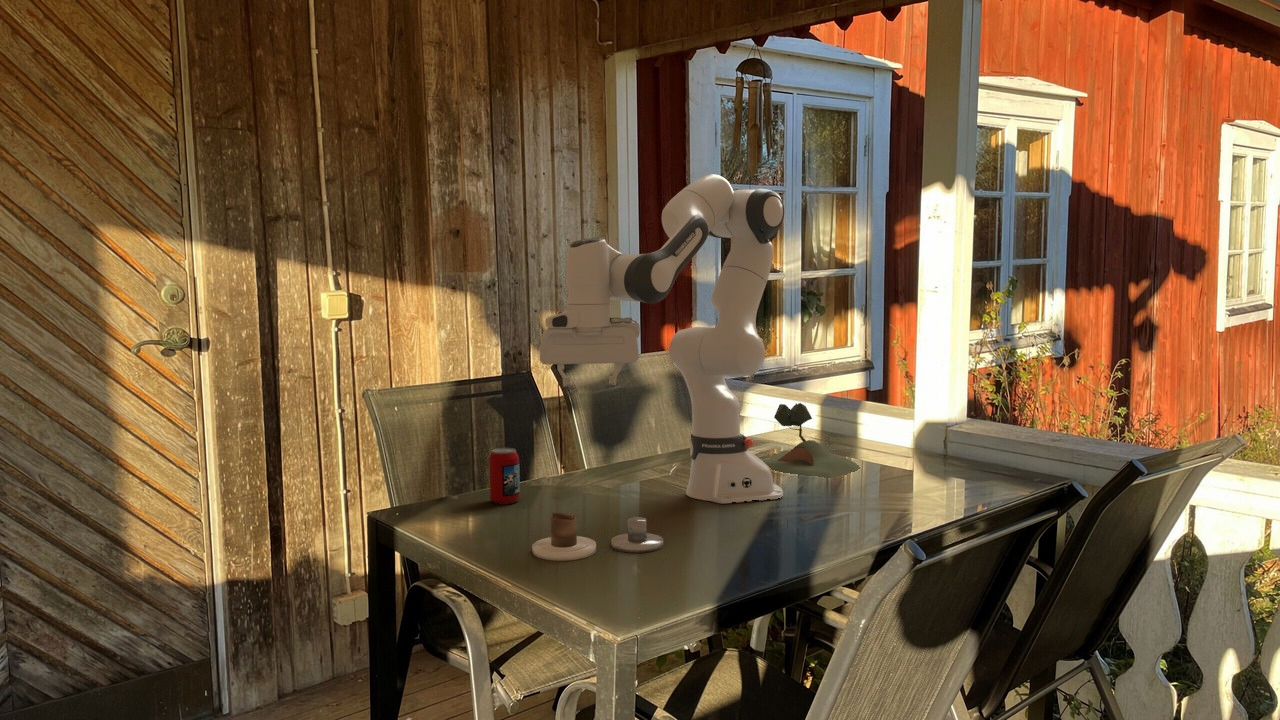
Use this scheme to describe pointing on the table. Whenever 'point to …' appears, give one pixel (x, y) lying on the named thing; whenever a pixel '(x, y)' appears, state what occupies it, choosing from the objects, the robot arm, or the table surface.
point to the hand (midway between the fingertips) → (589, 385)
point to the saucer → (564, 549)
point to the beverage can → (504, 476)
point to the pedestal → (637, 538)
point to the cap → (563, 530)
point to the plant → (806, 450)
